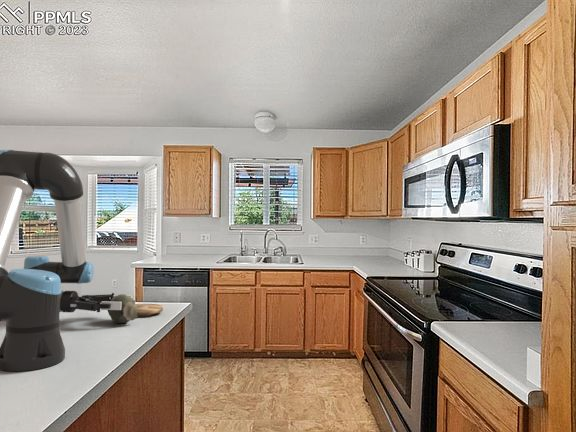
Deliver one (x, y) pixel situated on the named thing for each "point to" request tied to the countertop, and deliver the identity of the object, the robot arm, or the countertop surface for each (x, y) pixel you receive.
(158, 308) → the lazy susan
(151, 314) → the susan base
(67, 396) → the countertop surface
